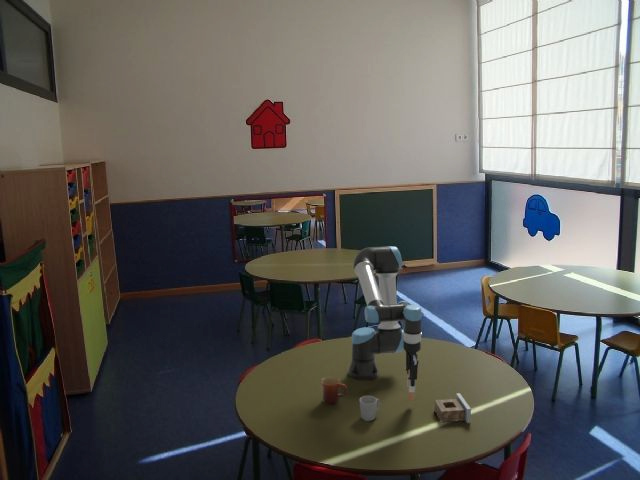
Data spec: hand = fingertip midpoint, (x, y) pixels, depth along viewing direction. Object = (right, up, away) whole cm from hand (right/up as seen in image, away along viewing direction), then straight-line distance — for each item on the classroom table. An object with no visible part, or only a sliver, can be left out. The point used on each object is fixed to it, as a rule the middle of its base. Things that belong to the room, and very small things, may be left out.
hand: (411, 390), depth 244 cm
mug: (-34, -8, +7) cm, 36 cm away
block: (+15, -9, -7) cm, 19 cm away
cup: (-19, -10, -6) cm, 22 cm away
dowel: (0, -4, +1) cm, 4 cm away
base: (+21, -9, -6) cm, 24 cm away
